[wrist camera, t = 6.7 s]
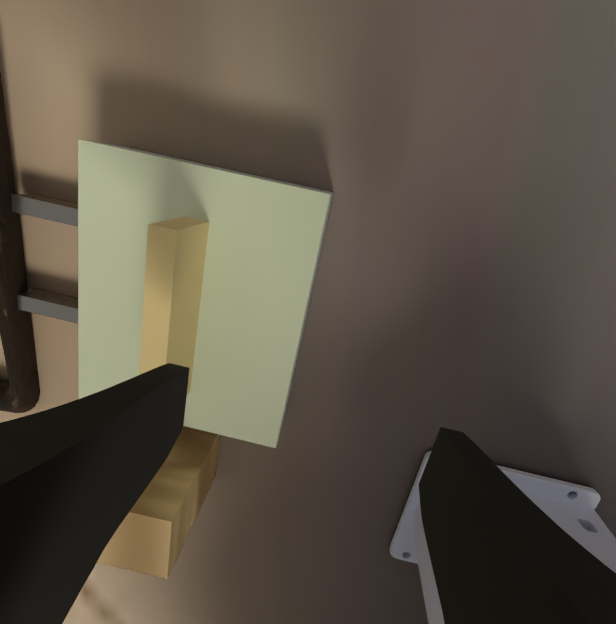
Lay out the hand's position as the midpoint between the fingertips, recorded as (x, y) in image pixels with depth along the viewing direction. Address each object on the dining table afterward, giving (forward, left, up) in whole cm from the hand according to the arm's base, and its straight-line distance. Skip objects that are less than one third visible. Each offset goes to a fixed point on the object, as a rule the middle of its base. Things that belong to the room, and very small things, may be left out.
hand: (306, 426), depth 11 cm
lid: (+6, 0, -7) cm, 9 cm away
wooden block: (+6, +10, -9) cm, 15 cm away
